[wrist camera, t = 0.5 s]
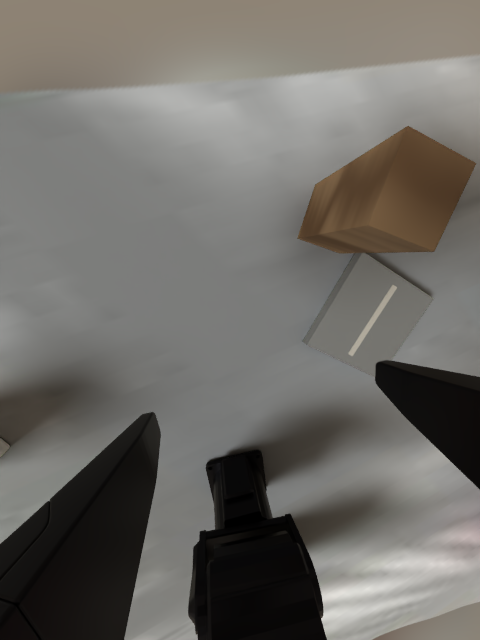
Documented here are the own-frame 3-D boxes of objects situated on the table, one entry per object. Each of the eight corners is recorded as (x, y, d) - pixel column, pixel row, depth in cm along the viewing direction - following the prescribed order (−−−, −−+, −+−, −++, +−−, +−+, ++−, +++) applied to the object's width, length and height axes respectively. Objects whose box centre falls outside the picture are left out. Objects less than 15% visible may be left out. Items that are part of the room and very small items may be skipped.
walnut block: (339, 253, 21) (434, 251, 12) (297, 238, 20) (368, 225, 11) (358, 203, 20) (476, 163, 11) (315, 184, 19) (407, 125, 10)
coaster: (371, 374, 25) (379, 379, 24) (302, 341, 23) (307, 345, 22) (424, 297, 24) (434, 299, 23) (355, 251, 21) (363, 251, 20)
